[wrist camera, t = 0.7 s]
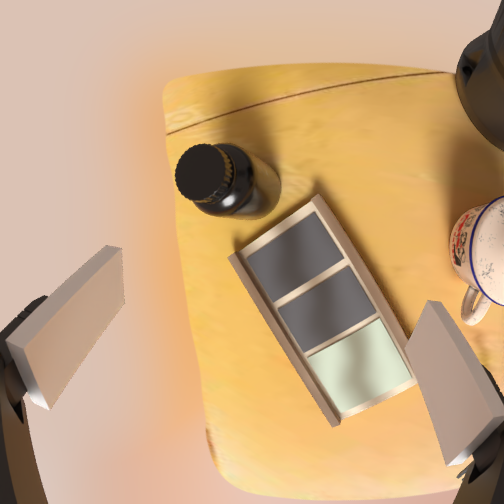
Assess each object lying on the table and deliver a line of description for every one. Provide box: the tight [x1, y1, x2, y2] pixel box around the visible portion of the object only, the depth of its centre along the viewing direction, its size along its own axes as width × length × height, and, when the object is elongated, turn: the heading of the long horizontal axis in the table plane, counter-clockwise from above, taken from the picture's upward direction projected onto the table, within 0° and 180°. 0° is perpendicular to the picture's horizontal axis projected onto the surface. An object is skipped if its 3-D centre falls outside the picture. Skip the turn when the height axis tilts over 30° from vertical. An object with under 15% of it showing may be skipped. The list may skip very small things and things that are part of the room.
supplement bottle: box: [175, 143, 281, 220], centre depth 30 cm, size 7×7×12 cm
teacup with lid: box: [449, 196, 504, 326], centre depth 22 cm, size 12×9×12 cm
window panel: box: [227, 194, 418, 428], centre depth 32 cm, size 12×23×2 cm, turn 34°
